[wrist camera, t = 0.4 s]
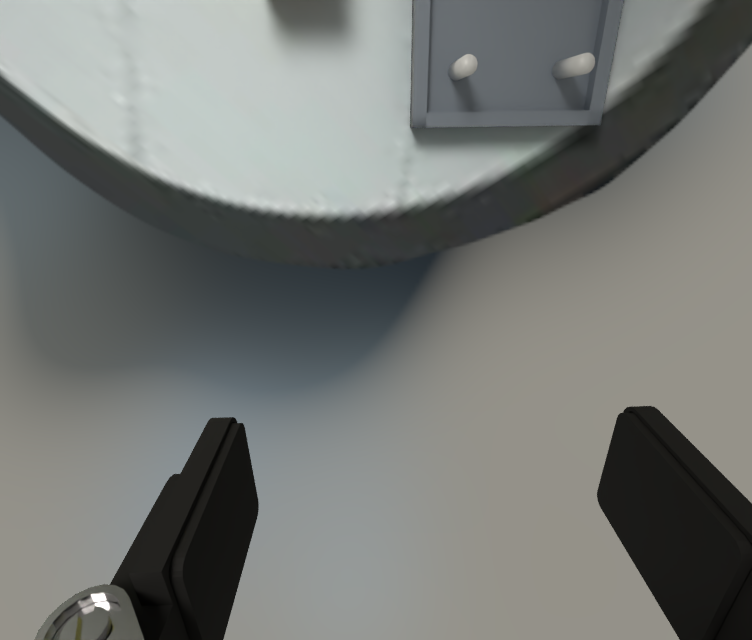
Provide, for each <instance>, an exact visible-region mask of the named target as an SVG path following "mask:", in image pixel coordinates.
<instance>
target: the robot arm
mask: <svg viewBox="0 0 752 640" xmlns="http://www.w3.org/2000/svg"><path fill="white" fill-rule="evenodd" d="M597 497H598V502H599V505H600V507H601V509H602V511H603V512H604V514H605V516H606V517H607V519H608V520H609V522H610V524H611V526H612V527H613V529H614V530H615V532H616V534H617V536H618V537H619V539H620V540H621V542H622V544H623V546H624V547H625V549H626V551H627V552H628V554H629V556H630V557H631V559H632V561H633V562H634V564H635V565H636V567H637V569H638V571H639V572H640V574H641V575H642V577H643V579H644V581H645V582H646V584H647V586H648V587H649V589H650V591H651V592H652V594H653V595H654V597H655V599H656V601H657V602H658V604H659V606H660V607H661V609H662V611H663V612H664V614H665V616H666V617H667V619H668V621H669V622H670V624H671V626H672V627H673V629H674V631H675V632H676V634H677V636H678V637H679V639H680V640H752V504H751V503H750V502H749V501H748V499H747V498H746V497H744V496H743V495H742V493H741V492H739V490H738V489H737V488H735V487H734V486H733V485H732V483H731V482H730V481H729V480H727V478H725V476H724V475H722V473H721V472H720V471H719V470H718V469H717V468H716V467H714V465H713V464H711V462H710V461H709V460H708V459H707V458H705V457H704V455H703V454H702V453H700V451H699V450H697V448H696V447H695V446H694V445H693V444H692V443H691V442H690V441H689V440H688V439H686V437H685V436H684V435H683V434H682V433H681V432H680V431H679V430H678V429H677V428H676V427H675V426H674V425H673V424H672V423H671V422H670V421H669V420H668V419H667V418H666V417H665V416H663V414H661V412H660V411H659V410H658V409H656V408H655V407H651V406H640V407H627V408H626V409H625V410H624V412H623V413H620V414H619V415H618V417H617V420H616V424H615V428H614V432H613V435H612V439H611V443H610V446H609V450H608V454H607V458H606V461H605V465H604V469H603V472H602V476H601V480H600V484H599V488H598V492H597ZM257 516H258V497H257V492H256V487H255V482H254V476H253V470H252V465H251V459H250V454H249V449H248V443H247V438H246V433H245V427H244V425H243V423H237V421H236V419H235V418H233V417H232V418H231V417H230V418H211V419H210V420H209V421H208V423H207V425H206V427H205V428H204V430H203V432H202V434H201V436H200V438H199V440H198V442H197V443H196V445H195V447H194V449H193V451H192V453H191V455H190V457H189V459H188V461H187V462H186V464H185V466H184V468H183V470H182V472H181V474H174V475H172V476H171V477H170V478H169V480H168V481H167V483H166V484H165V486H164V488H163V490H162V492H161V493H160V495H159V497H158V499H157V500H156V502H155V504H154V506H153V508H152V509H151V512H150V513H149V515H148V517H147V518H146V520H145V522H144V524H143V526H142V528H141V529H140V531H139V533H138V535H137V537H136V538H135V540H134V542H133V544H132V546H131V547H130V549H129V551H128V553H127V555H126V556H125V558H124V560H123V562H122V564H121V565H120V567H119V569H118V571H117V573H116V574H115V576H114V578H113V580H112V582H111V584H110V585H99V586H95V587H91V588H88V589H86V590H84V591H82V592H79V593H78V594H75V595H74V596H72V597H71V598H69V599H68V600H67V601H65V602H64V603H62V604H61V605H60V606H59V607H58V608H57V609H56V610H55V611H54V612H53V613H52V614H51V615H50V616H49V617H48V618H47V619H46V621H45V622H44V624H43V625H42V626H41V628H40V629H39V631H38V633H37V635H36V638H35V640H223V639H224V635H225V631H226V627H227V624H228V621H229V617H230V613H231V610H232V606H233V603H234V599H235V595H236V592H237V588H238V585H239V581H240V577H241V574H242V570H243V567H244V563H245V559H246V556H247V552H248V548H249V545H250V541H251V538H252V534H253V530H254V527H255V523H256V520H257Z"/></svg>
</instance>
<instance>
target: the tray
mask: <svg viewBox="0 0 752 640" xmlns="http://www.w3.org/2000/svg"><path fill="white" fill-rule="evenodd" d="M623 3H624V0H413V1H412V53H411V106H410V127H411V128H431V127H500V126H570V125H600V124H601V119H602V113H603V108H604V103H605V98H606V92H607V87H608V82H609V76H610V71H611V66H612V61H613V55H614V50H615V45H616V40H617V34H618V29H619V24H620V18H621V13H622V8H623Z"/></svg>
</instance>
